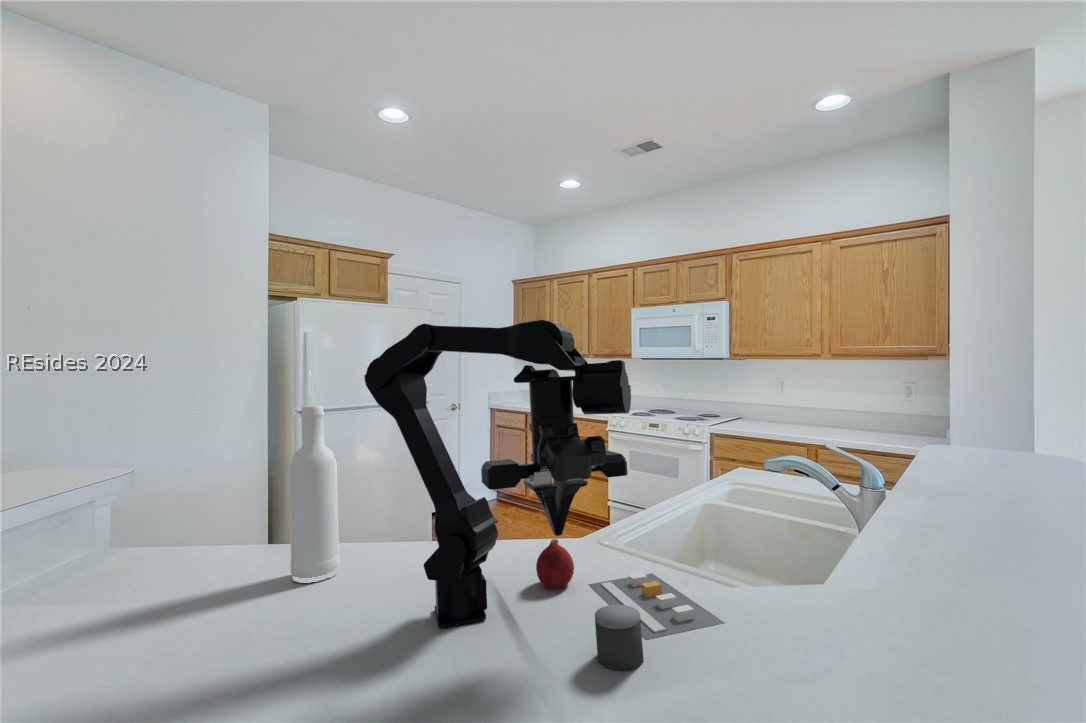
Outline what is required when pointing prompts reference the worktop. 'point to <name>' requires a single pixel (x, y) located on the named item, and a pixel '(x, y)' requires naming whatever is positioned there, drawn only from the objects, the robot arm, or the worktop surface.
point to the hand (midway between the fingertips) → (557, 534)
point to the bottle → (313, 501)
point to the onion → (554, 566)
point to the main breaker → (651, 589)
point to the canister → (619, 637)
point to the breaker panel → (656, 606)
